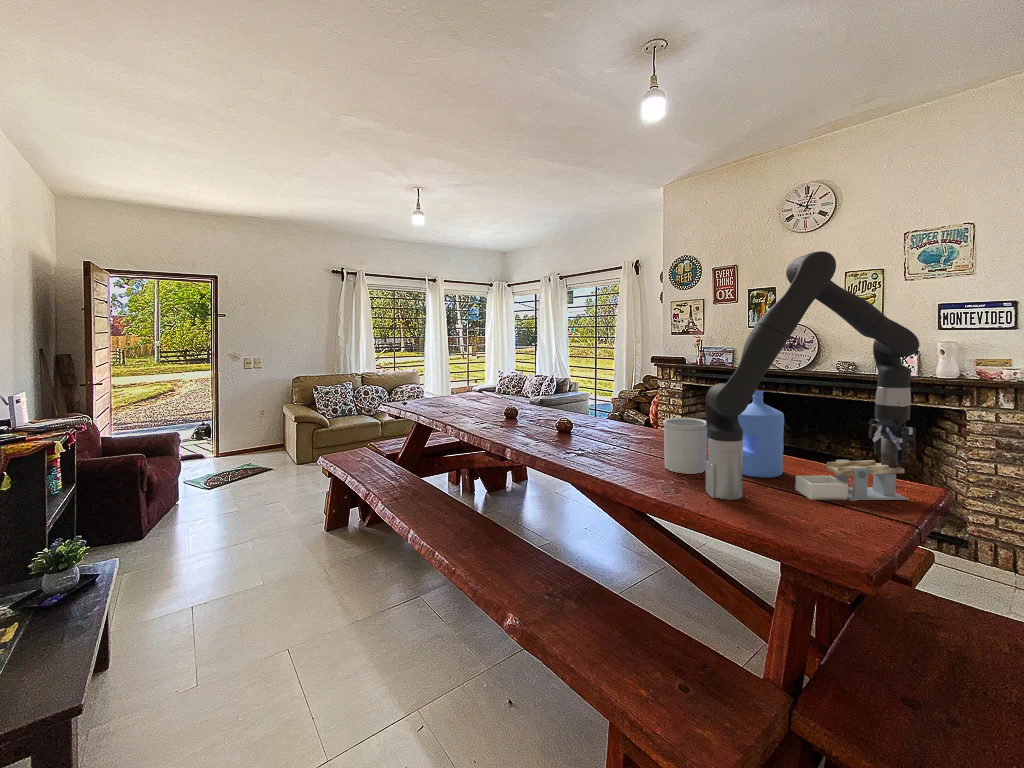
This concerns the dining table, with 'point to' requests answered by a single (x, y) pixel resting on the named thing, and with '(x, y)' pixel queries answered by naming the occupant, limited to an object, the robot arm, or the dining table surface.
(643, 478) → the dining table surface
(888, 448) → the lever
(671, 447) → the utensil holder
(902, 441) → the robot arm
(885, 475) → the stand
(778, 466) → the water jug
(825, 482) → the gray open tray
